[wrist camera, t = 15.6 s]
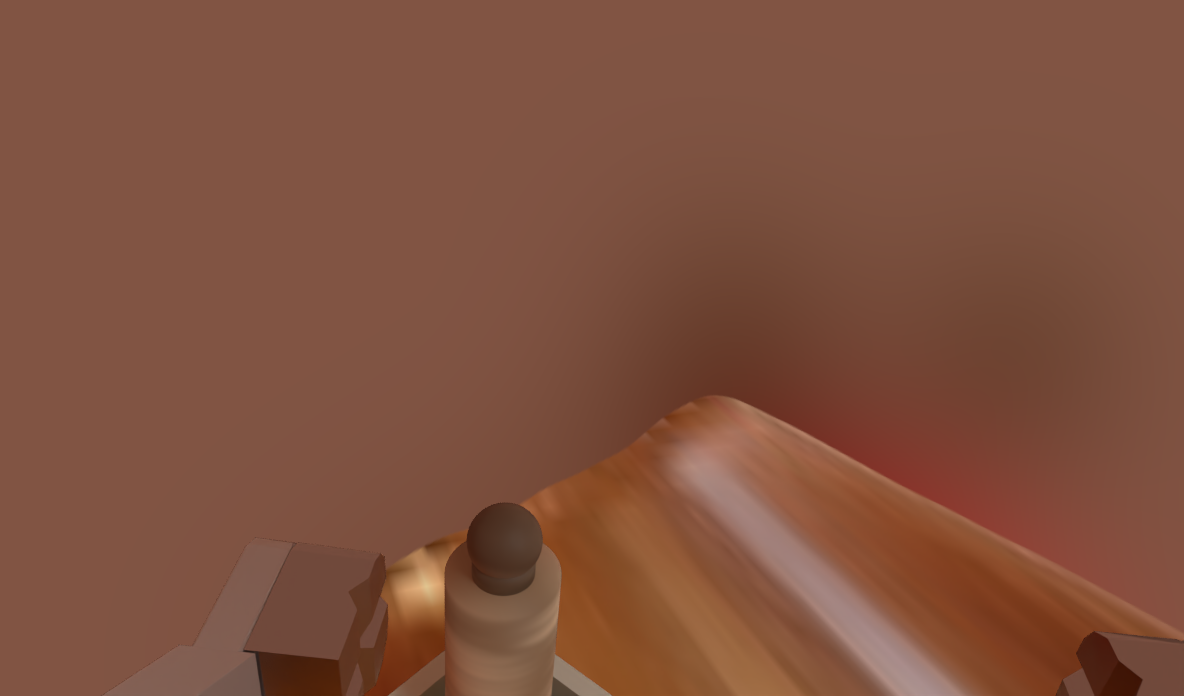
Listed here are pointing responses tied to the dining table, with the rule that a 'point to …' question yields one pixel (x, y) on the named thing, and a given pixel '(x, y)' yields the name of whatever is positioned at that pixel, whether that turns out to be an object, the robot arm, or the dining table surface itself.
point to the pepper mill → (501, 607)
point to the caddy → (428, 684)
